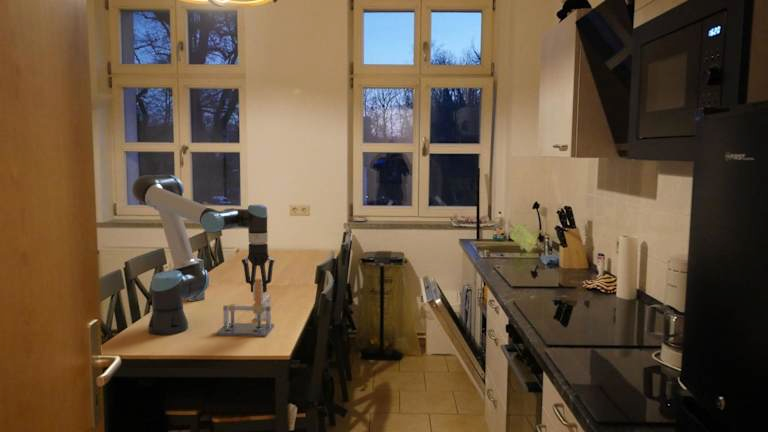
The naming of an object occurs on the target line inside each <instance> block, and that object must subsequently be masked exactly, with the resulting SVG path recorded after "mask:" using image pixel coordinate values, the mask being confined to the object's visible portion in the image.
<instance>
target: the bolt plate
mask: <svg viewBox="0 0 768 432" xmlns="http://www.w3.org/2000/svg"><path fill="white" fill-rule="evenodd" d="M234 323H235V326H234V327H231V322H229V326H228V327H224V325H223V326H222V327H220V328H219V330H217V331H216V332H215V336H218V337H219V336H220V337H221V336H222V337H223V336H224V337H257V338H258V337H260V338H261V337H265V338H266V337H268V335H269V334H270V333H271V331H273V329H274V327H275V324H274V323H271V327H270V328H266V323H261V326H258V323H249V322H247V323H243V322H242V323H241V322H239V323H238V322H234Z"/></svg>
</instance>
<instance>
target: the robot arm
mask: <svg viewBox="0 0 768 432" xmlns="http://www.w3.org/2000/svg"><path fill="white" fill-rule="evenodd" d="M184 192H185V187H184V184H183V182H182V180H180V179H179V178H178V177H177V176H175V175H173V174H166V173H165V174H144V175H141V176H139V177H137V178H136V179H135V180H134V182H133V183H132V186H131V193H132V195H133V198H135V200H136V201H137V202H139V203H141V204H143V205H145V206H148V207H150V208H153V209H154V210H155V211H157V212H158V215H159V216H160V221H161V224H162V228H163V232H164V235H165V239H166V243H167V245H168V249H169V252H170V256H171V260H172V263H173V267H172V268H171V270H165V271H164V270H163V271H161V272H157V273H156V274H154V275H153V276H152V278H151V284H150V285H151V286H150V288H151V306H152V307H151V309H152V310H151V311H152V313H151V315H150V319H149V322H148V326H147V327H148V328H147V329H148V333H149V334H152V335H156V336H157V335H158V336H165V335H167V336H168V335H174V334H178V333H183V332H186V330H188V328H189V322H188V319H187V316H186V313H185V311H184V300H185V299H187V298H190V297H193V296H197V295H199V294H201V293H203V292H204V291H207V289H208V287H209V285H210V276H209V275H210V274H209V272H208V271H207V269H205V267H204V268H202V267H200V264H199V262H198V261H196V260H195V259H194V258H195V256H194V253H193V251H192V245H191V243H190V240H189V235H188V233H187V229H186V225H185V222H184V219H186V220H189V221H191V222H193V223H196V224H198V225H200V226H201V227H202V229H203V230H204V231H205V232H208V233H215V232H220V231H225V230H230V229H235V228H242V229H243V228H245V229H248V233H247V235H248V243H249V244H248V255H247V257H246V258H245V257H244V258H243V259H241V263H242V265H243V269H244V277H245V283H247V284H249V285H250V293H252V294H253V295H252V297H253V302H255V279H256V275H257V267H258V266H259V268H260V274H261V279H262V285H261V301H263V300H264V299H265V293H267V291H268V286H267V285H268V284H271V282H272V278H273V276H272V275H273V271H274V270H273V268H274V264H275V261H276V259H275V258H271V257H270V256H269V253H268V252H269V249H268V247H269V245H268V239H269V238H268V208H267V206H266V205H265V204H249V205H248V206H247V209H242V208H232V207H231V208H225V209H223V210H216V209H214V208H211V207H209V206H206V205H205V204H202V203H199V202H197V201H195V200H192V199H189V198H187V197H185V196H184ZM249 262H250V265H251V274H250V266H249ZM266 263H268V267H267V268H268V270H267V273H266Z"/></svg>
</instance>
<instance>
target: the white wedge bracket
mask: <svg viewBox="0 0 768 432" xmlns="http://www.w3.org/2000/svg"><path fill="white" fill-rule="evenodd" d="M264 298H265V299H264V300H263V302H264V304H265V306H270V310H271V311H272V309H271V308H272V307H271V303H272V302H271V295H270V294H267V295H266V296H264ZM254 319H255V320H258V319H257V313H254ZM262 320H266V311H264V312H263V314H261V321H262Z"/></svg>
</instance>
